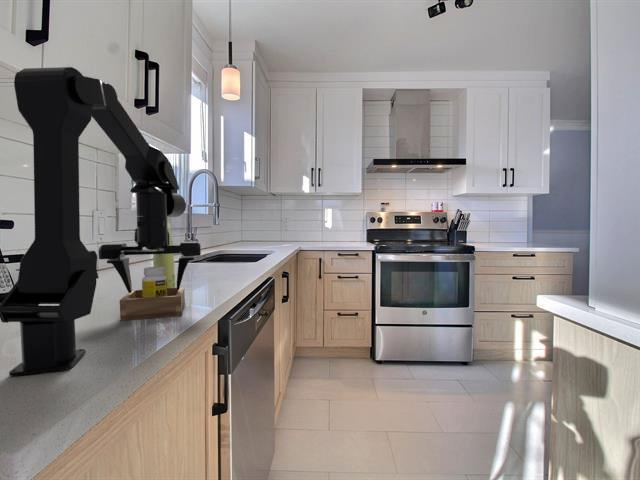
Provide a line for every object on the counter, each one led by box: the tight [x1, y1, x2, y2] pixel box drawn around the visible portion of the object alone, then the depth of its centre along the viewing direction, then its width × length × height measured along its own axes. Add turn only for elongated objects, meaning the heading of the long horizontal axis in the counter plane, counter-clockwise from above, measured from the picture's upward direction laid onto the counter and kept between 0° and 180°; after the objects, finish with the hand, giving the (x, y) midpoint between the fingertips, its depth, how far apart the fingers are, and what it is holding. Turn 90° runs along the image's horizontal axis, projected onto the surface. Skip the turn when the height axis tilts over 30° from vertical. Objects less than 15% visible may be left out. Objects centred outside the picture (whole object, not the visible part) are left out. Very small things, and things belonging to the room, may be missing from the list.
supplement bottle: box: [141, 266, 167, 298], centre depth 74 cm, size 5×5×8 cm
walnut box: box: [119, 286, 186, 322], centre depth 74 cm, size 11×11×4 cm
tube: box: [153, 219, 176, 288], centre depth 84 cm, size 6×5×20 cm
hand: (154, 291), depth 74 cm, fingers open, 9 cm apart
